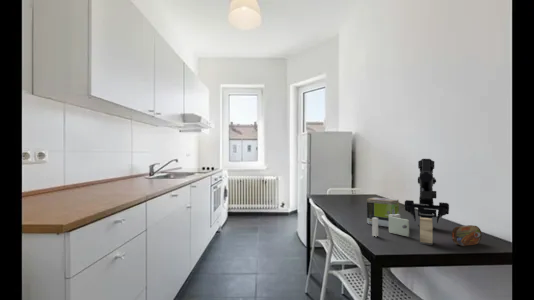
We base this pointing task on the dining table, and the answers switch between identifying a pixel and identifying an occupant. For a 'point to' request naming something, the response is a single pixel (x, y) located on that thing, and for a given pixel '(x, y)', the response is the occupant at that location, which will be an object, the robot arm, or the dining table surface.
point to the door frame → (375, 224)
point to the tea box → (381, 210)
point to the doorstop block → (426, 231)
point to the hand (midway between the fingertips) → (426, 221)
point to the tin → (466, 235)
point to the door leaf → (399, 226)
